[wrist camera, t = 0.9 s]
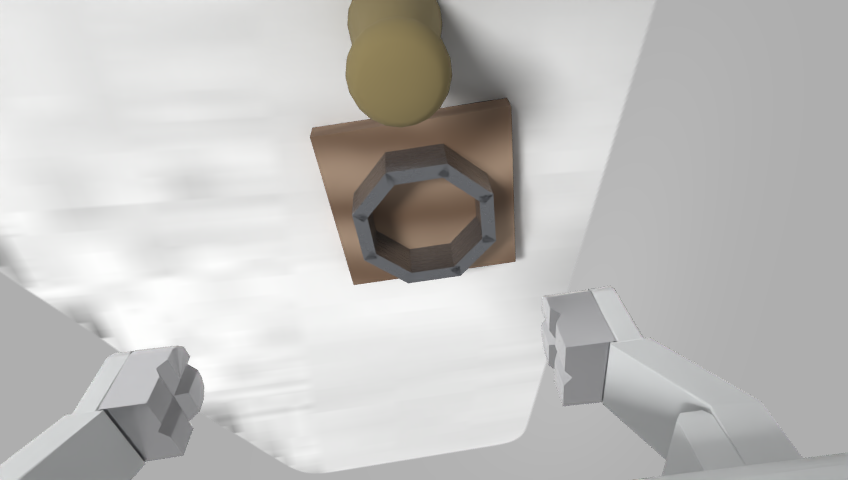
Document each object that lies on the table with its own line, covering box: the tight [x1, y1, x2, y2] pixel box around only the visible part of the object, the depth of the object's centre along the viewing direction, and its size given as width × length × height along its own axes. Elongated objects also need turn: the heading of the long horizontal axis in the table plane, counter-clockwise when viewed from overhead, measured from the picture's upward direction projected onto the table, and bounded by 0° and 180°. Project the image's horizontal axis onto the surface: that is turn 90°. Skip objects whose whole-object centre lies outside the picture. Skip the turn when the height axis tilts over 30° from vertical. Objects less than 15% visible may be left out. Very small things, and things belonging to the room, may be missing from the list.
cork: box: [346, 0, 452, 128], centre depth 28 cm, size 6×6×11 cm
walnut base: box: [310, 98, 515, 285], centre depth 39 cm, size 14×14×2 cm
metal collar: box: [352, 144, 496, 283], centre depth 37 cm, size 10×10×3 cm
